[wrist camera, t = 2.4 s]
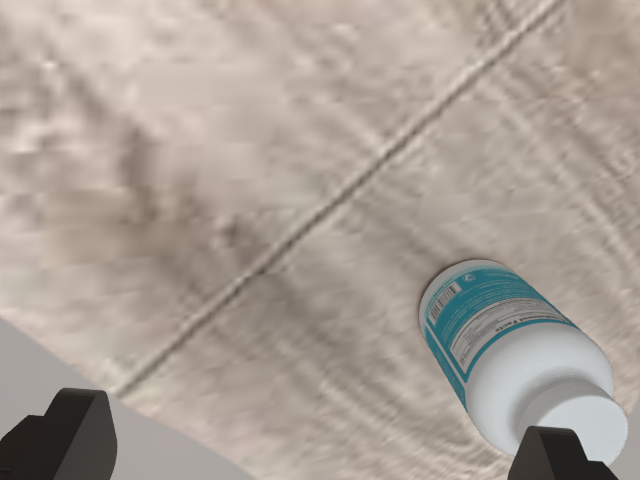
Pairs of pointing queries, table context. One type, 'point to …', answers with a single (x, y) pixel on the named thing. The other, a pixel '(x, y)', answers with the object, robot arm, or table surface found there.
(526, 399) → the pill bottle
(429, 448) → the table surface
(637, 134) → the table surface
